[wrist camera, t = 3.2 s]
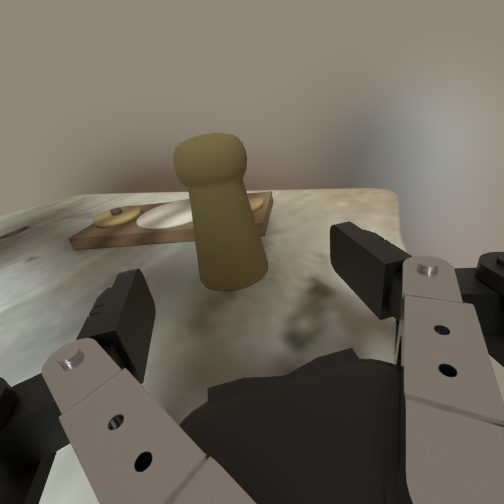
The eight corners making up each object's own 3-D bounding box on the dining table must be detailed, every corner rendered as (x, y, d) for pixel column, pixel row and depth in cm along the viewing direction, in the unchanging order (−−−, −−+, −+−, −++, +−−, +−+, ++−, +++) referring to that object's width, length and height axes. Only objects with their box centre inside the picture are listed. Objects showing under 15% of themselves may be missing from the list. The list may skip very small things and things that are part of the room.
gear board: (74, 249, 34) (63, 228, 32) (123, 216, 43) (116, 198, 42) (264, 235, 29) (260, 209, 28) (273, 201, 38) (270, 181, 37)
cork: (229, 300, 20) (191, 143, 15) (187, 275, 24) (145, 145, 19) (282, 264, 23) (267, 125, 18) (237, 247, 28) (214, 130, 22)
